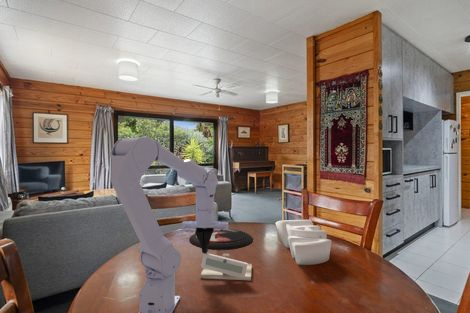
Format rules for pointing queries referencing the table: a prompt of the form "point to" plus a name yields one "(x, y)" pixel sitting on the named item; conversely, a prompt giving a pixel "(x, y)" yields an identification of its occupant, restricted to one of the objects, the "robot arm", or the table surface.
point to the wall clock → (225, 239)
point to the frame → (224, 265)
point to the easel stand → (217, 275)
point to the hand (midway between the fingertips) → (205, 251)
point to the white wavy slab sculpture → (304, 241)
